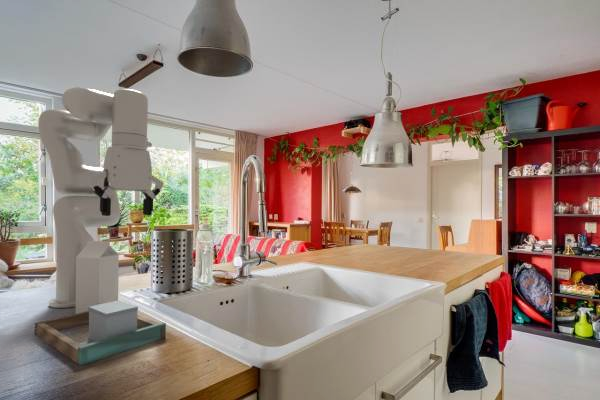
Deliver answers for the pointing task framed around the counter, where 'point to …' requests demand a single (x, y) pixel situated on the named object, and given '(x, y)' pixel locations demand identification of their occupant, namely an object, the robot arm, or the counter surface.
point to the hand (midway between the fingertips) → (127, 215)
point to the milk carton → (96, 275)
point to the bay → (98, 349)
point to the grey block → (111, 320)
